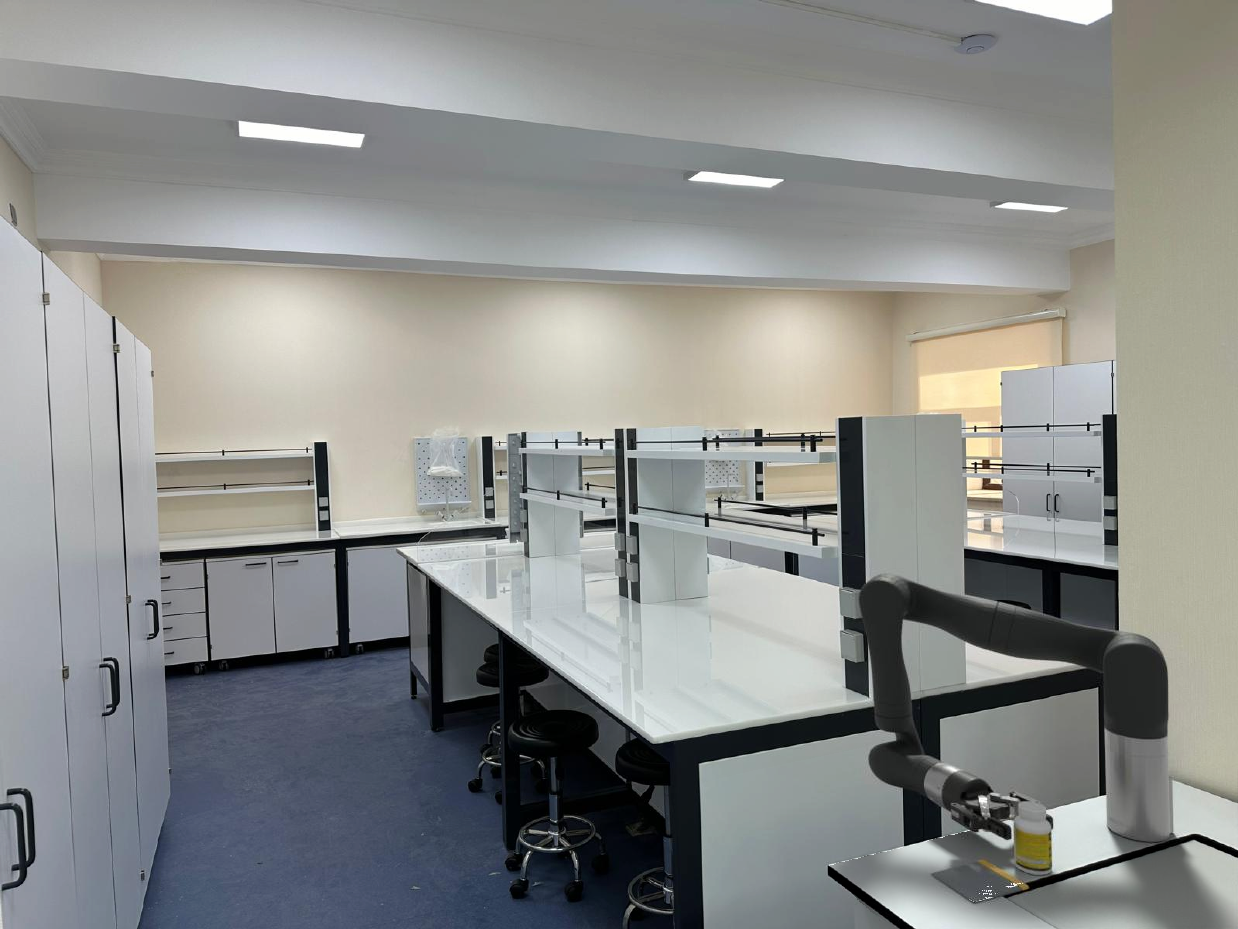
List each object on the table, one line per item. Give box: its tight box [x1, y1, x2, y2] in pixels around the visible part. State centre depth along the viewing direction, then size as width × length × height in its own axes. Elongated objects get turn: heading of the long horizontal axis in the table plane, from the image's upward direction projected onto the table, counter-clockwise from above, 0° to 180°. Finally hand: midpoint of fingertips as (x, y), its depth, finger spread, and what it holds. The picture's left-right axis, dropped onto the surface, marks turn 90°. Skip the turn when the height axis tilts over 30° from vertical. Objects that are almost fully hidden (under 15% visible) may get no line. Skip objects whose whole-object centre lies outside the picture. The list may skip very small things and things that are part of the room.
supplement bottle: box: [1013, 801, 1053, 876], centre depth 132 cm, size 5×5×10 cm
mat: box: [930, 859, 1030, 902], centre depth 128 cm, size 10×9×1 cm
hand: (1031, 829), depth 132 cm, fingers open, 8 cm apart
